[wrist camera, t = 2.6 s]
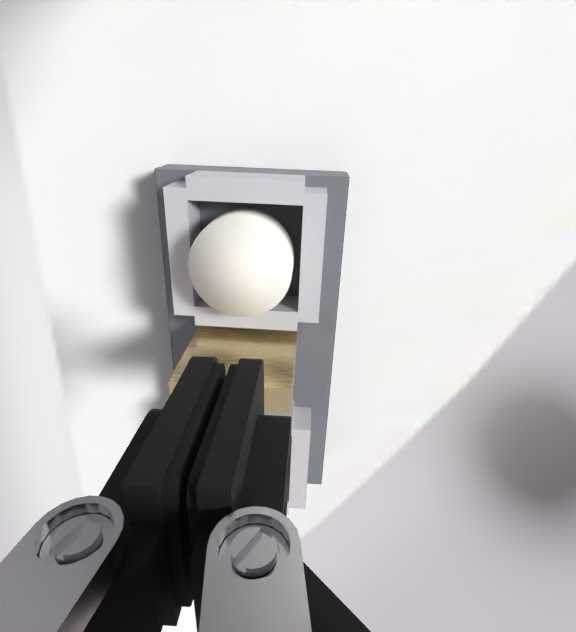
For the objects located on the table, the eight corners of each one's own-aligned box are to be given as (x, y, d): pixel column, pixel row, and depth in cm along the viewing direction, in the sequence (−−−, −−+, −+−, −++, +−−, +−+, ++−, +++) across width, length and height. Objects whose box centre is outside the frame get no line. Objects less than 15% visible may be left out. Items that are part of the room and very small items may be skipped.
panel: (168, 164, 22) (138, 173, 18) (346, 171, 21) (352, 183, 18) (192, 457, 30) (174, 504, 26) (320, 467, 30) (321, 516, 26)
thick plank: (203, 317, 23) (167, 381, 17) (298, 323, 22) (292, 389, 17) (204, 337, 23) (170, 405, 18) (297, 343, 23) (290, 413, 17)
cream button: (197, 205, 19) (184, 214, 17) (296, 210, 19) (294, 220, 17) (202, 297, 21) (191, 314, 19) (292, 302, 21) (290, 320, 19)
